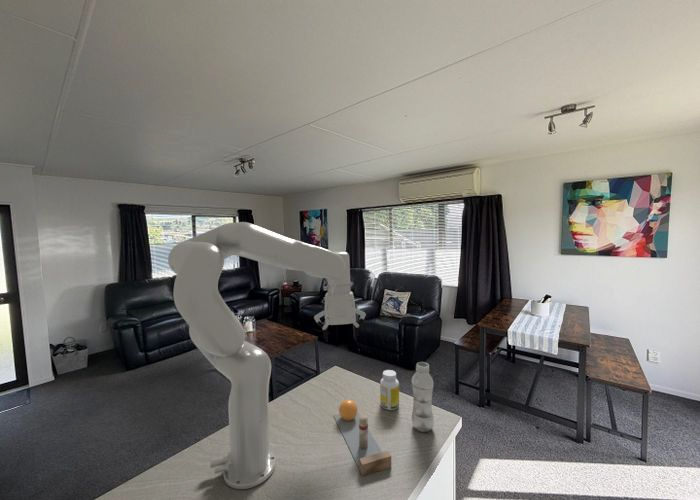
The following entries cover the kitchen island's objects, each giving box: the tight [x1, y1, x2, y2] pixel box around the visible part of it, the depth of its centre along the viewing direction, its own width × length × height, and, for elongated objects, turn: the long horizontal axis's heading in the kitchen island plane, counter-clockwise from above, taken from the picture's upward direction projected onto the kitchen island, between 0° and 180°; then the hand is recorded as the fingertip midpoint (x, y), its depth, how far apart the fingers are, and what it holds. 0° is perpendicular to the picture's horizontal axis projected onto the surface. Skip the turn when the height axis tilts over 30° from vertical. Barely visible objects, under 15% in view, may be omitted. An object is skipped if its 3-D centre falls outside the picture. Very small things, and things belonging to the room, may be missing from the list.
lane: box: [333, 411, 383, 468], centre depth 85 cm, size 8×22×1 cm, turn 20°
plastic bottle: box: [411, 361, 435, 433], centre depth 87 cm, size 6×7×20 cm
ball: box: [338, 398, 359, 421], centre depth 92 cm, size 6×6×6 cm
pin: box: [359, 414, 369, 449], centre depth 80 cm, size 2×2×8 cm
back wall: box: [358, 450, 392, 477], centre depth 73 cm, size 8×2×3 cm, turn 110°
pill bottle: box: [379, 369, 400, 411], centre depth 99 cm, size 6×6×12 cm
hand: (341, 338), depth 96 cm, fingers open, 9 cm apart
